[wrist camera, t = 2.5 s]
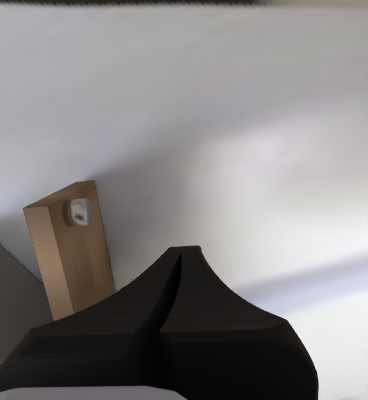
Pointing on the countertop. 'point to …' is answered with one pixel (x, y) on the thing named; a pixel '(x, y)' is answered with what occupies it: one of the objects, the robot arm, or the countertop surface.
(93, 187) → the door
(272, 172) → the countertop surface
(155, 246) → the countertop surface
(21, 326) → the grey long block
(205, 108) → the countertop surface
